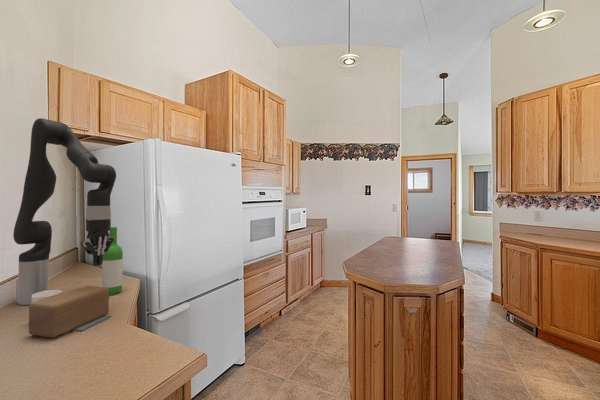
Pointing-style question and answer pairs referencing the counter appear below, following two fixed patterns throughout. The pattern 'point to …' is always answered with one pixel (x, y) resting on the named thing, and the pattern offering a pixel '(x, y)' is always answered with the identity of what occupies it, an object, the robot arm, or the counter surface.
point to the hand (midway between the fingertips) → (97, 265)
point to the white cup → (45, 295)
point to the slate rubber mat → (90, 323)
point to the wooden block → (67, 310)
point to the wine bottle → (112, 265)
